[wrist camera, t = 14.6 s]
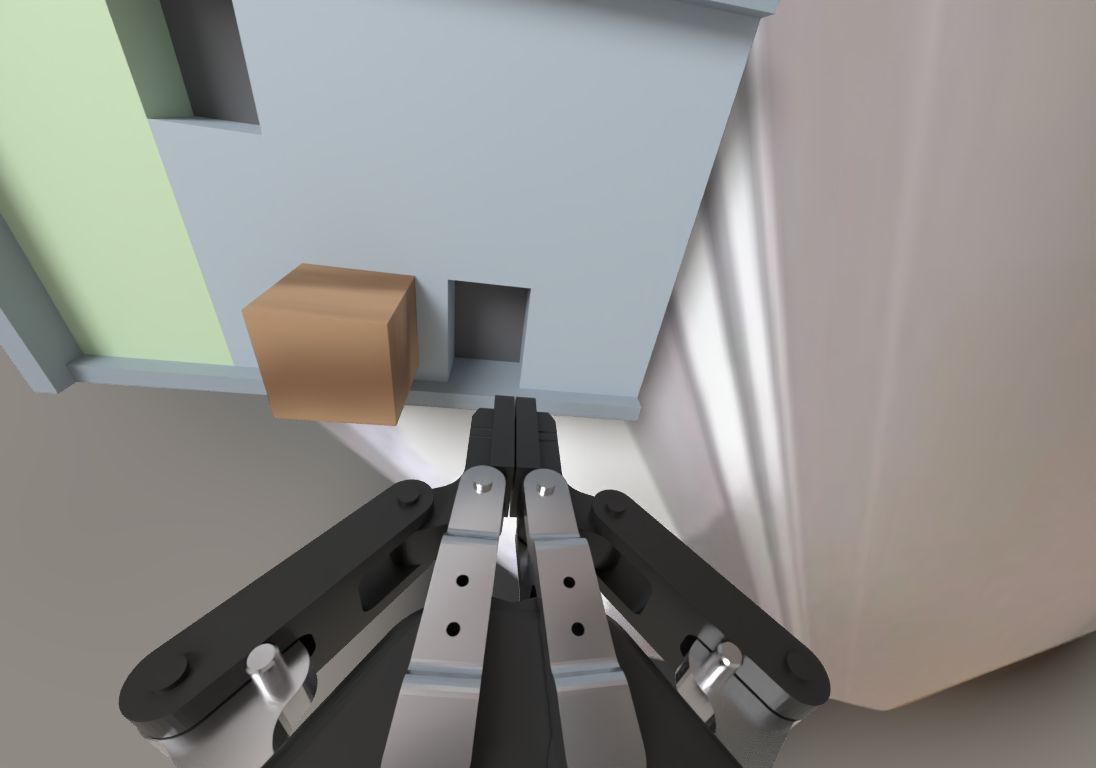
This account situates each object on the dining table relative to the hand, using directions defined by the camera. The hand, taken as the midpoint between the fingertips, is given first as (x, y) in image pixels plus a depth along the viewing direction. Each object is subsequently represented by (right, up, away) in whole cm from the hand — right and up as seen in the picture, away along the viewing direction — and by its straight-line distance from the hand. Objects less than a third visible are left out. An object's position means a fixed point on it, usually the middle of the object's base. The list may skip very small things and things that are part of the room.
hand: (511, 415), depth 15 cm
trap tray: (-7, +10, +5) cm, 13 cm away
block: (-8, +4, +5) cm, 10 cm away
